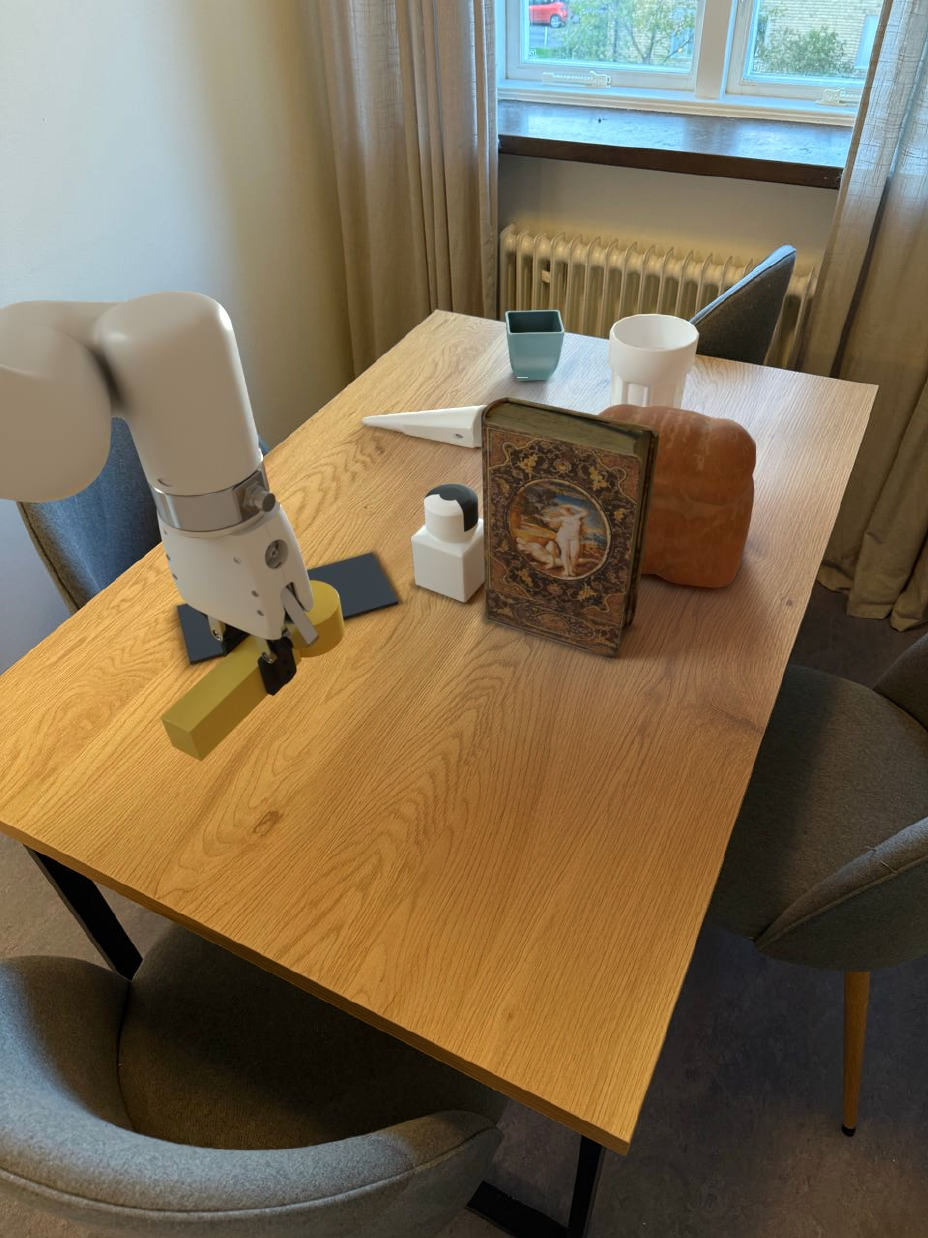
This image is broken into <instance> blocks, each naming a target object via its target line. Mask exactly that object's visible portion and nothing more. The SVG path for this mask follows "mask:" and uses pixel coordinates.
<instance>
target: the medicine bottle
mask: <svg viewBox="0 0 928 1238" xmlns="http://www.w3.org/2000/svg"><path fill="white" fill-rule="evenodd" d="M423 510H424V521H425V523H424V524H423V525H422V526H421V527H420V528H419V529H418V530H417V531H416V532H415V533H414V534H413V535H412V536H411V538H410V545H411V556H412V565H413V576H414V583H415V585H416V586H418V587H421V588H424V589H427V590H428V591H432V592H435V593H437V594H440V595H442V596H444V597H447V598H450V599H453V600H456V601H458V602H462V603H466V602H468V601H469V600H470V598H472V596H473V595H474V594H475V593H476V592H477V591H478V590H479V588H480V587H481V586H482V585H483V584H484V583H485V575H484V530H483V518H480V515H479V514H480V513H479V512H480V511H479V496H478V494H477V493H476V491H474V489H472V488H471V487H469V486H467V485H465V484H461V483H454V482H453V483H452V482H451V483H443V484H439V485H437V486H435V487H433V488H432V489H430V490H429V491H428V492H427V493H426V494H425V496H424V497H423Z"/></svg>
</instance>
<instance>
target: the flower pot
mask: <svg viewBox="0 0 928 1238" xmlns="http://www.w3.org/2000/svg"><path fill="white" fill-rule="evenodd" d="M504 318H505V330H506V341H507V348H508V349H507V350H508V357H509V363H510V368H511V370H512V373H513V375H514V377H515V378H516V380H517V381H519V382H527V381H530V382H531V381H549V380H550V378H551V377H552V376H553V375H554V373H555V371H556V370H557V367H558V365H559V362H560V360H561V356H562V355H561V354H562V351H563V350H562V349H563V343H564V337H565V328H564V325H563V321H562V317H561V312H560V310H558V309H544V310H543V309H542V310H540V309H539V310H509V311H505V313H504ZM517 377H528V378H517Z"/></svg>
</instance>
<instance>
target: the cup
mask: <svg viewBox="0 0 928 1238" xmlns="http://www.w3.org/2000/svg"><path fill="white" fill-rule="evenodd" d="M699 338H700V333H699V331H698V330H697V327H696V326H695V325H694V324H692V323H690V322H689V321H687V320H686V319H683V318H680V317H677V316H673V315H668V314H667V315H666V314H659V313H646V314H645V313H644V314H635V315H630V316H627V317H623V318H621V319H620V320H618V321H616V322H615V323H614V324H613V325H612V326H611V328H610V330H609V338H608V339H609V341H608V359H607V362H608V365H609V367H610V369H611V379H610V381H611V382H610V397H609V398H610V399H609V407H612V406H615V405H620V404H630V405H635V406H640V407H654V406H657V407H671V408H677V409H682V408H681V407H682V403H683V397H684V393H685V392H684V391H685V387H686V382H687V377H688V375H689V374H690V373H691V371H692V369H693V366H694V362H695V358H696V353H697V347H698V344H699Z"/></svg>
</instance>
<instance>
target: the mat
mask: <svg viewBox="0 0 928 1238" xmlns="http://www.w3.org/2000/svg"><path fill="white" fill-rule="evenodd" d="M306 570H307V573H308V577H309V580H313V581H320V582H324V583H326V584H328V585H330V586H332V587H333V588H334V589H335V590H336V591H337V593H338V595H339V599H340V605H341V610H342V616H343V621H344V620H348V619H350V618H355V617H357V616H360V615H364V614H367V613H371V612H374V611H377V610H380V609H384V608H389V607H392V606H394V605H395V606H396V605H398V604H399V599H398V598H397V596H396V594H395V592H394V590H393V587H392V586H391V584H390V582H389V581H388V579H387V577H386V575H385V573H384V571H383V569H382V567H381V565H380V564H379V562H378V560H377V558H376V557H375V555H374V553H373V552H368V553H365V554H361V555H357V556H354V557H349V558H345V559H342V560H339V561H336V562H332V563H328V564H324V565H321V566H317V567H313V568H310V569H306ZM176 610H177V615H178V618H179V623H180V626H181V631H182V635H183V640H184V644H185V647H186V652H187V657H188V662H189V664H190V665H194V664H197V663H200V662H204V661H207V660H211V659H214V658H217V657H222V656H224V653H223V650H222V647H221V643H222V642H223V640H222V641H220V640H218V639H216V638H215V637H214V636H213V634H212V632H211V629H210V624H209V621H208V620H207V619H206V618H205V617H204V616H203V615H202V614H200V612H199V611H198V610H196V609H195V608H193V607H191V606H190V605H188V604H187V603H186V602H185V603H182V604H180V605H176Z"/></svg>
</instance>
